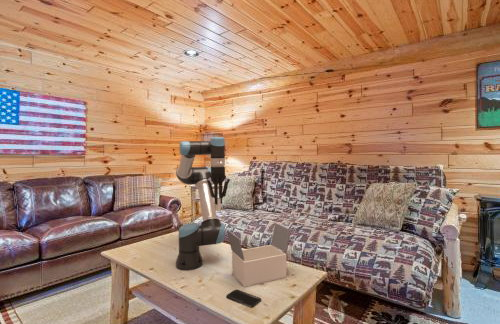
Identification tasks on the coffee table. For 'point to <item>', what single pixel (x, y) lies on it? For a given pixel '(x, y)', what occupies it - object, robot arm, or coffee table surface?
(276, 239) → the flap
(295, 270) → the coffee table surface
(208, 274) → the coffee table surface
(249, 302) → the phone
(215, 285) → the coffee table surface
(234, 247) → the flap
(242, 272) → the carton
